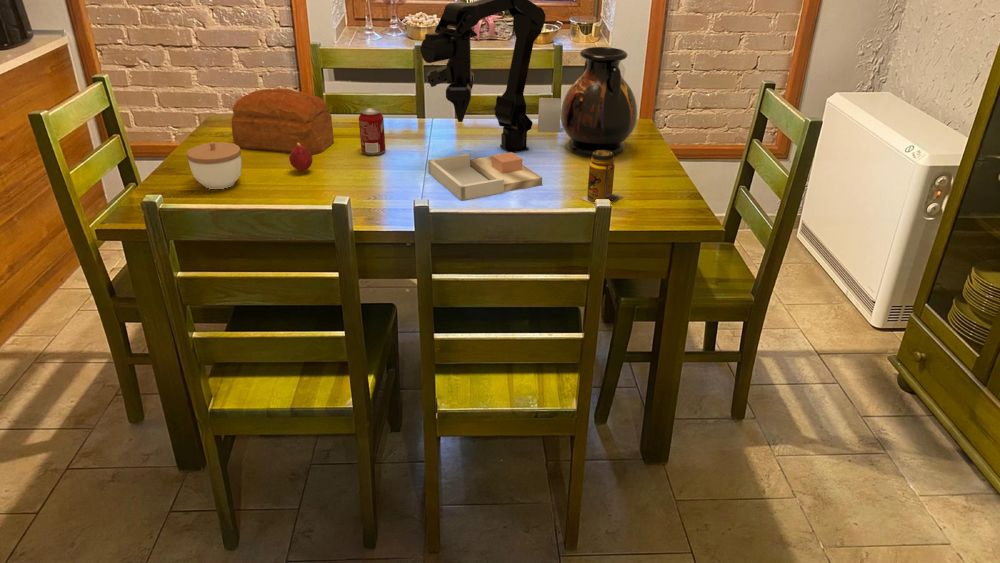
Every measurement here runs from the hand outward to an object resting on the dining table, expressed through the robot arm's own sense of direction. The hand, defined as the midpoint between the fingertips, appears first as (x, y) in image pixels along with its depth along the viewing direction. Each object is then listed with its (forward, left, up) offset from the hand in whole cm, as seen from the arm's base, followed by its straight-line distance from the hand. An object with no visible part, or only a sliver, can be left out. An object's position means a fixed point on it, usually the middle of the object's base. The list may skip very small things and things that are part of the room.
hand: (461, 116), depth 195 cm
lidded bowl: (+62, -12, -14) cm, 64 cm away
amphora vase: (-40, +6, -14) cm, 43 cm away
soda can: (+19, -19, -14) cm, 30 cm away
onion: (+41, -12, -14) cm, 45 cm away
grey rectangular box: (-37, -16, -14) cm, 43 cm away
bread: (+40, -37, -14) cm, 56 cm away
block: (-7, +13, -11) cm, 18 cm away
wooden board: (-7, +13, -13) cm, 20 cm away
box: (+5, +13, -13) cm, 19 cm away
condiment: (-21, +37, -14) cm, 45 cm away
